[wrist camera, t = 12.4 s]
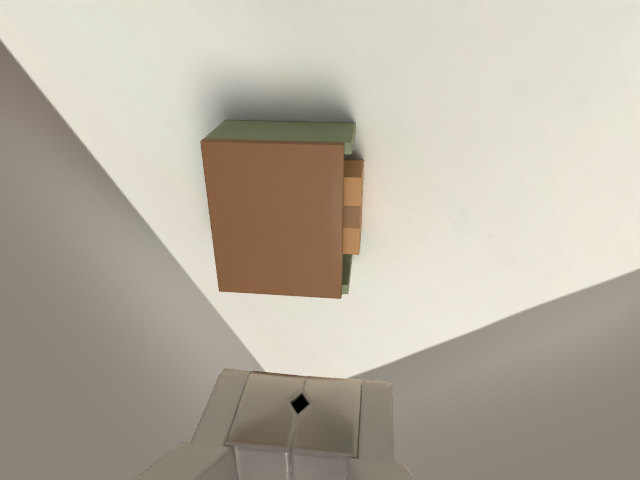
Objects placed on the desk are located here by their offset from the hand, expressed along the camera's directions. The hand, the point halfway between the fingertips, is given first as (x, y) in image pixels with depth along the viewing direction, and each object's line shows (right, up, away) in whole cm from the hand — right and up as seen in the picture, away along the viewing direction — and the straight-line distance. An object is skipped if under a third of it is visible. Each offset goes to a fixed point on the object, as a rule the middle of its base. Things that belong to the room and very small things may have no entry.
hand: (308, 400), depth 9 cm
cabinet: (-2, +7, +32) cm, 33 cm away
